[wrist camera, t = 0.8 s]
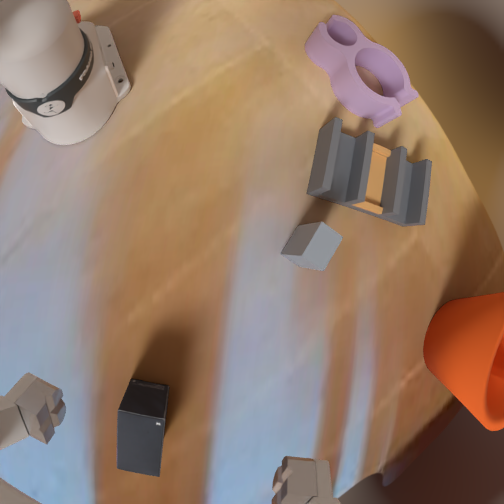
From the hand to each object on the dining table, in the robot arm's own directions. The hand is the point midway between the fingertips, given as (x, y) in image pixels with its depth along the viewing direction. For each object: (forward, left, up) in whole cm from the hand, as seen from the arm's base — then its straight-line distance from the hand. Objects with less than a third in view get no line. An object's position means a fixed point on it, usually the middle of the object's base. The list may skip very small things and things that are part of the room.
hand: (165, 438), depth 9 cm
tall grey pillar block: (-2, +18, -36) cm, 41 cm away
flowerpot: (+24, +47, -37) cm, 64 cm away
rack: (-10, +32, -36) cm, 50 cm away
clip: (-29, +36, -37) cm, 59 cm away
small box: (+17, -11, -37) cm, 42 cm away
